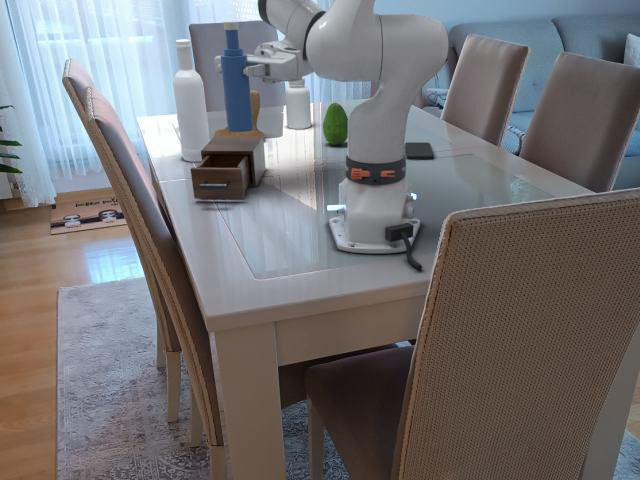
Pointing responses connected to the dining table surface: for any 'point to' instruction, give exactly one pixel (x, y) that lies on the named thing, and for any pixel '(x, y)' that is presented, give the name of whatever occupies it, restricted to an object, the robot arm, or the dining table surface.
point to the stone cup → (255, 112)
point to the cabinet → (240, 152)
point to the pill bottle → (298, 105)
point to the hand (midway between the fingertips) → (232, 70)
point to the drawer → (221, 176)
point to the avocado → (335, 124)
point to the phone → (418, 150)
